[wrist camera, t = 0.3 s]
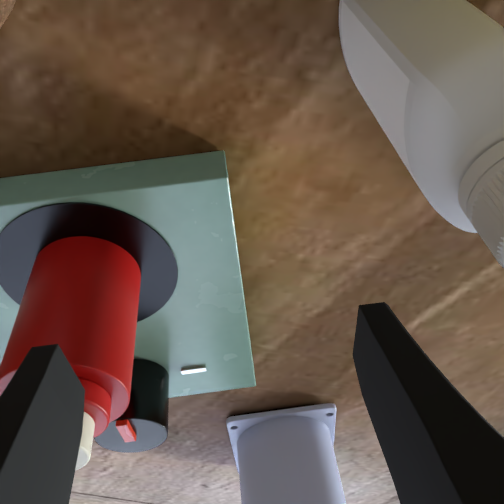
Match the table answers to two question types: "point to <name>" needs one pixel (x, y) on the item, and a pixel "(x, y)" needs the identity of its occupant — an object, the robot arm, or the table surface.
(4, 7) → the lidded bowl
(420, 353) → the robot arm
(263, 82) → the table surface
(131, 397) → the dial
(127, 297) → the ketchup bottle
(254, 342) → the table surface
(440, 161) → the eye dropper bottle
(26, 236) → the ring
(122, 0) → the table surface
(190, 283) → the hotplate
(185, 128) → the table surface
